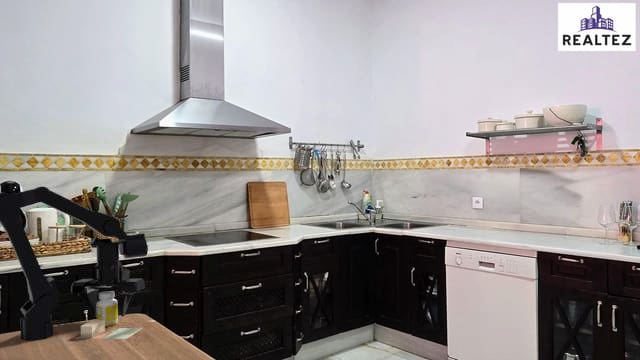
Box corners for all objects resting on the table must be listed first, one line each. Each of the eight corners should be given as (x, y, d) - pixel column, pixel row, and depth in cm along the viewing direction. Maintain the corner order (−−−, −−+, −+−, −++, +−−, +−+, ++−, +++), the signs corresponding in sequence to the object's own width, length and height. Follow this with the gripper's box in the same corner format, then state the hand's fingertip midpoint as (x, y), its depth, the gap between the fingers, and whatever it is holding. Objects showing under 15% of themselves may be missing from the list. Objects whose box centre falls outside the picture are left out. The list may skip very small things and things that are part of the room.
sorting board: (72, 344, 120) (72, 339, 120) (94, 331, 130) (94, 327, 130) (126, 344, 118) (126, 339, 118) (144, 331, 128) (144, 327, 128)
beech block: (92, 338, 120) (92, 326, 120) (80, 338, 120) (80, 326, 120) (104, 330, 126) (104, 319, 126) (93, 330, 126) (93, 319, 126)
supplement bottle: (120, 324, 136) (120, 290, 136) (113, 330, 131) (112, 294, 131) (101, 325, 136) (100, 290, 136) (93, 331, 130) (92, 295, 130)
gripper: (152, 255, 141) (153, 308, 141) (92, 256, 142) (93, 309, 142) (135, 261, 130) (136, 319, 130) (69, 262, 131) (70, 319, 131)
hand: (109, 316), depth 133 cm, fingers open, 8 cm apart
